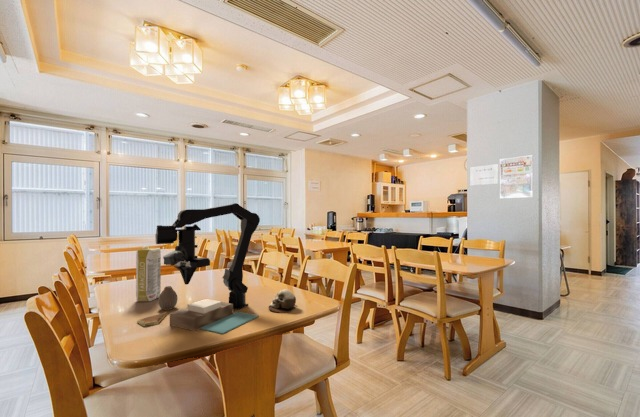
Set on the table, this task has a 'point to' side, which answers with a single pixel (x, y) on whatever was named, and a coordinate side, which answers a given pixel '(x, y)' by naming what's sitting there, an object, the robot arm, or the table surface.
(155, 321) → the shard
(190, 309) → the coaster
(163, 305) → the vase
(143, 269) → the juice carton
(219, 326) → the mat
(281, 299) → the skull
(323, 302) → the table surface
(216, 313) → the brick
